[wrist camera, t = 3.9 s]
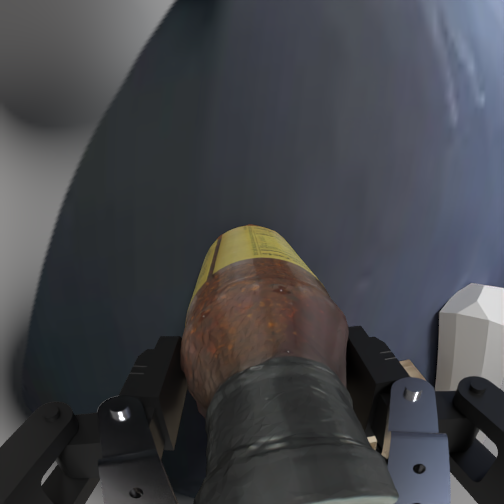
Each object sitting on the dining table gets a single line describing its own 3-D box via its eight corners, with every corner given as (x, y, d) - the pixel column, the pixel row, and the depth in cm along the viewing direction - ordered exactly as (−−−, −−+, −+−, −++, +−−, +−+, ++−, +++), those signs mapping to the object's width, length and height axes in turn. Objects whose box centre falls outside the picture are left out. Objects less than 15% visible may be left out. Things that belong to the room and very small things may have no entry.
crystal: (492, 441, 26) (530, 270, 20) (466, 481, 23) (514, 308, 17) (449, 424, 32) (465, 261, 26) (421, 460, 29) (435, 293, 23)
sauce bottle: (242, 320, 24) (248, 599, 5) (188, 256, 23) (50, 522, 3) (313, 268, 23) (471, 515, 4) (261, 199, 22) (391, 397, 3)
